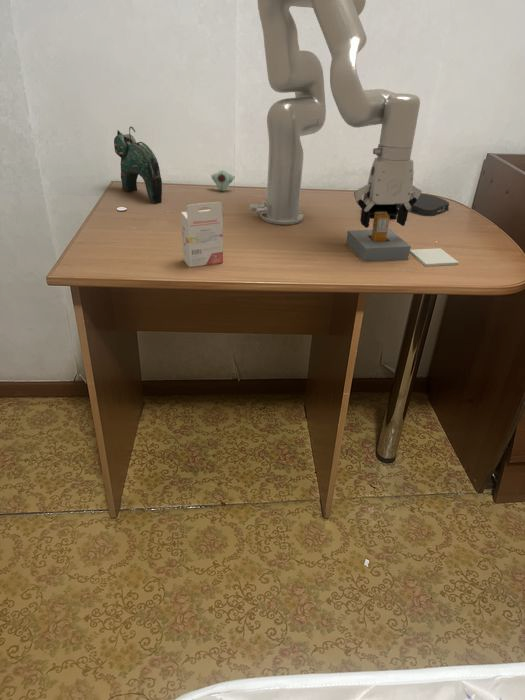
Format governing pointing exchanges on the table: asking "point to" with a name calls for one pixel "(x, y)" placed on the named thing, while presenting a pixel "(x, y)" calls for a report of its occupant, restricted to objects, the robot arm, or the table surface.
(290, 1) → the robot arm
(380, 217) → the supplement box
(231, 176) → the valved respirator
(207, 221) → the ink cartridge box
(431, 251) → the rubber mat
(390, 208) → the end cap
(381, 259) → the pocket block
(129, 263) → the table surface
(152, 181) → the ceramic cat
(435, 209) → the media streaming box
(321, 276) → the table surface
